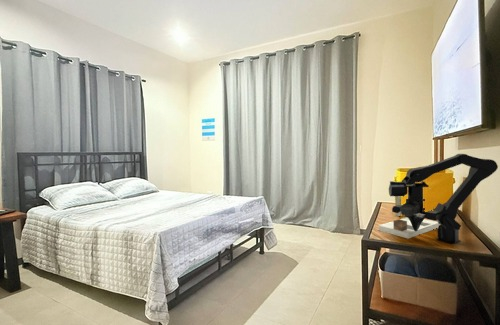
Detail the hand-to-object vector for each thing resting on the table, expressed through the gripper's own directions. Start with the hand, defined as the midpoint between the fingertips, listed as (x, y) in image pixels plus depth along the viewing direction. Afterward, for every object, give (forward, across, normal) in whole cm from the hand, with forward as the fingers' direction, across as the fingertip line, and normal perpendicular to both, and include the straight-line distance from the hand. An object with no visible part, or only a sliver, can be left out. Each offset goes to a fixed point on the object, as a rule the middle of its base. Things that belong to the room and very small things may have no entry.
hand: (415, 230), depth 114 cm
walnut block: (+1, -7, 0) cm, 7 cm away
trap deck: (+4, -9, +12) cm, 15 cm away
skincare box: (+4, -25, +32) cm, 41 cm away
